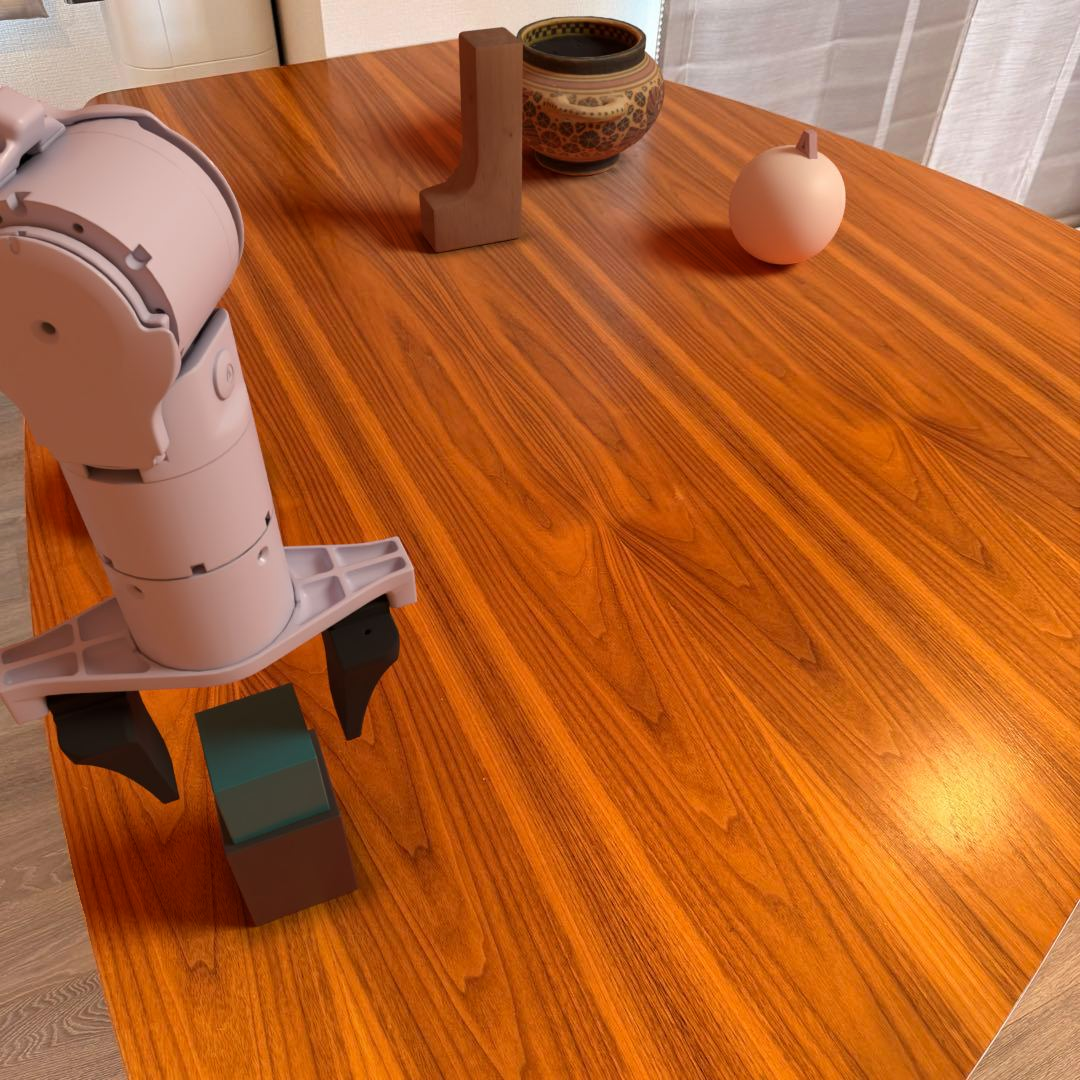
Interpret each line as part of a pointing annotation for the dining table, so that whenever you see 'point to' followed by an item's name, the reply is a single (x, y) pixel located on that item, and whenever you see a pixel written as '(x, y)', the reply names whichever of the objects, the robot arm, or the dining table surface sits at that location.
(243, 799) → the teal block
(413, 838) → the dining table surface
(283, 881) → the dark brown block
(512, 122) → the wooden block
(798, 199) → the ornament
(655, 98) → the ceramic bowl
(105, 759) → the robot arm
